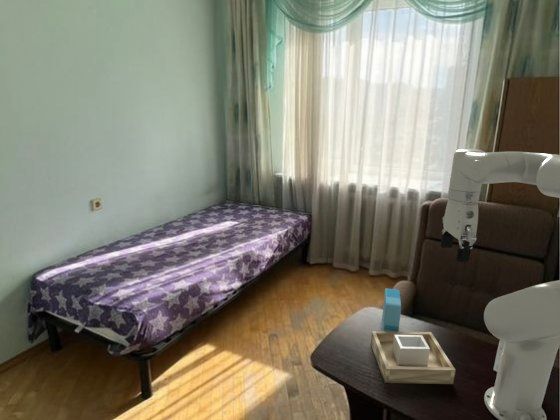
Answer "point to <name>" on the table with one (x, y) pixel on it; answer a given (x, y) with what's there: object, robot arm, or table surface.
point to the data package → (391, 310)
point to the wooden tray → (392, 373)
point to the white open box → (410, 350)
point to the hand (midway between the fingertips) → (453, 254)
